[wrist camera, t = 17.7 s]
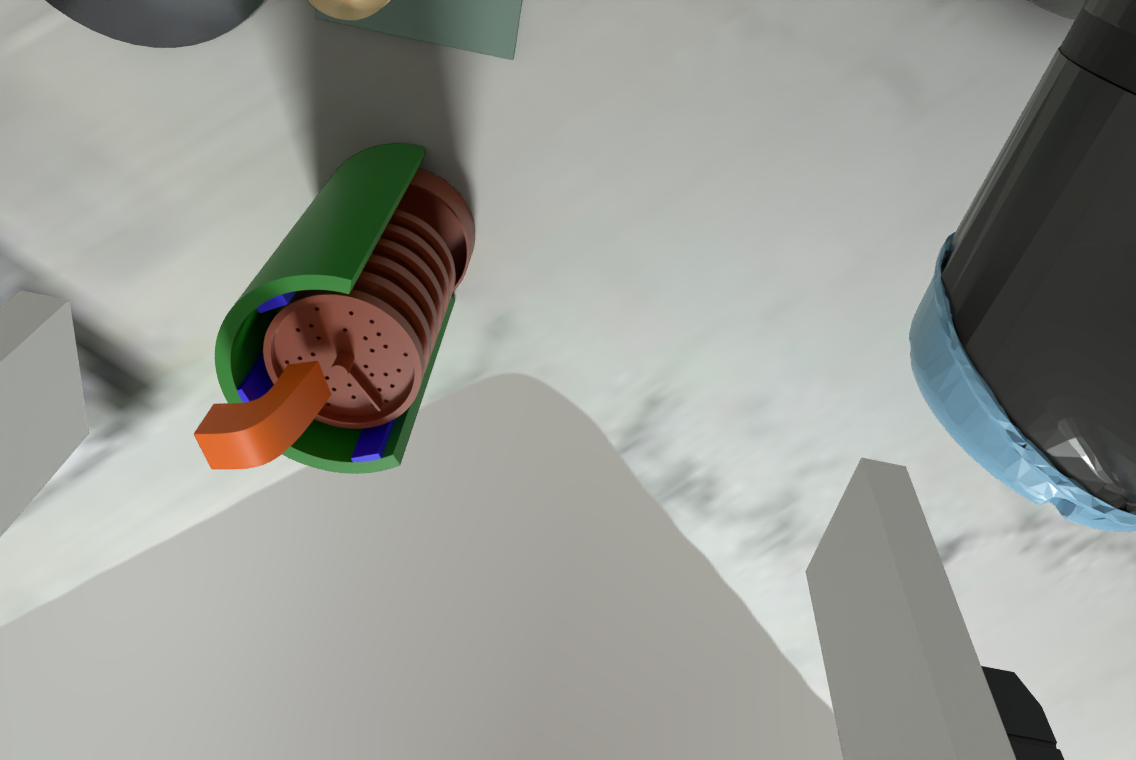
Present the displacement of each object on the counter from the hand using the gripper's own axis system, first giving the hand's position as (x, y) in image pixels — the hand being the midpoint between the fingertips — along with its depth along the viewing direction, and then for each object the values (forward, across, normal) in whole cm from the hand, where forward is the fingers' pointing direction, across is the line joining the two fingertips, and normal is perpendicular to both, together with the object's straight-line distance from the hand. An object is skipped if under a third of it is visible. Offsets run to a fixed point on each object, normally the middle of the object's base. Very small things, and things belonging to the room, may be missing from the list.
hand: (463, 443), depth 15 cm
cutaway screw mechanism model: (+35, +8, +14) cm, 38 cm away
